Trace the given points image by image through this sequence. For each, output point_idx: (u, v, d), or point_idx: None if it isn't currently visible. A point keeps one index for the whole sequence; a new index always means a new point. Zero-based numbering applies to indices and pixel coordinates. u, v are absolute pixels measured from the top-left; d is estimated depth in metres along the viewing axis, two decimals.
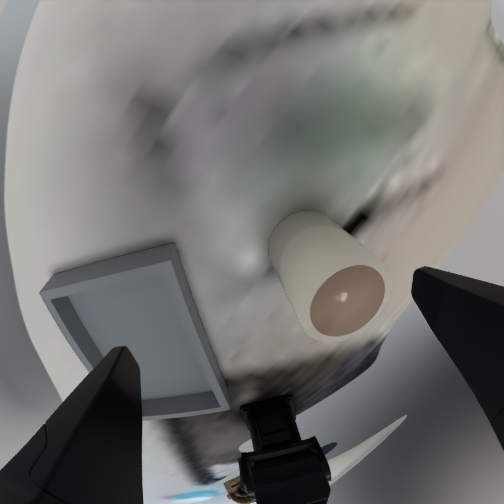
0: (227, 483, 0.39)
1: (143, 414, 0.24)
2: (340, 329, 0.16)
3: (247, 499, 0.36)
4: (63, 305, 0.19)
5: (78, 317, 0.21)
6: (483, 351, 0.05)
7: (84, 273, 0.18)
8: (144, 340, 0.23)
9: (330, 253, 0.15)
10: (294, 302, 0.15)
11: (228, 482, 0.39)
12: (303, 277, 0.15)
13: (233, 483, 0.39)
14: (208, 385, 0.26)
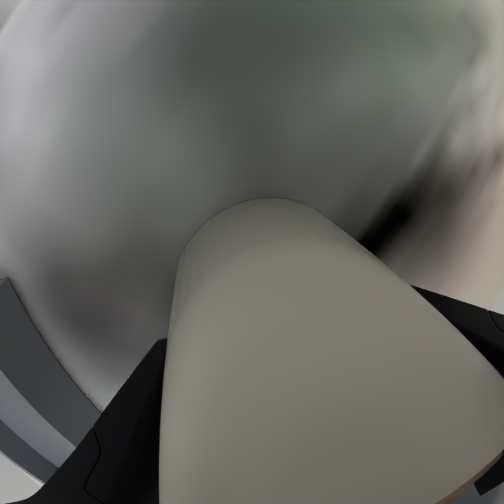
0: None
1: None
2: None
3: None
4: None
5: None
6: None
7: None
8: (29, 414, 0.10)
9: (301, 449, 0.02)
10: None
11: None
12: (166, 503, 0.02)
13: None
14: None
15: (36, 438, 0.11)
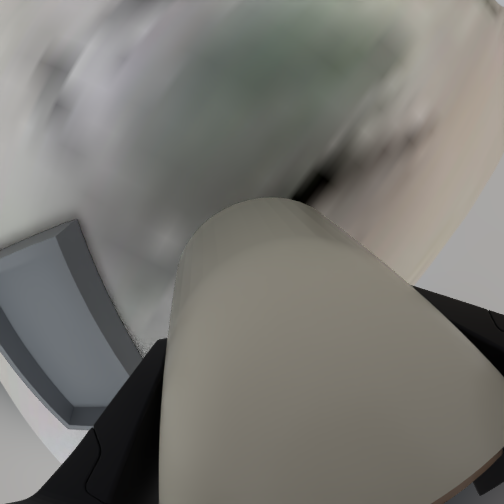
0: None
1: (78, 423, 0.19)
2: None
3: None
4: None
5: (1, 308, 0.15)
6: None
7: None
8: (64, 339, 0.17)
9: (301, 447, 0.02)
10: None
11: None
12: (165, 501, 0.02)
13: None
14: None
15: (62, 369, 0.18)
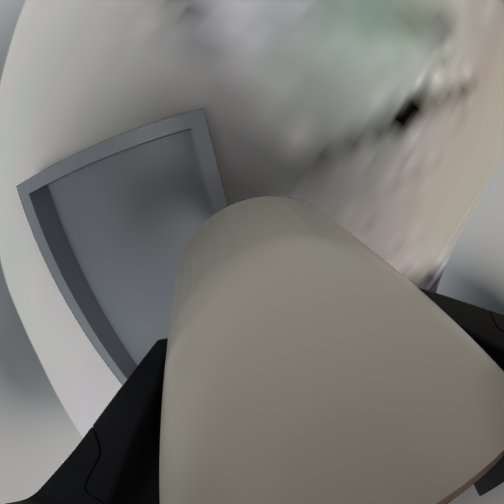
0: None
1: None
2: None
3: None
4: (46, 209, 0.13)
5: (64, 234, 0.15)
6: None
7: None
8: (153, 263, 0.17)
9: (306, 446, 0.02)
10: None
11: None
12: (166, 502, 0.02)
13: None
14: None
15: (137, 311, 0.18)
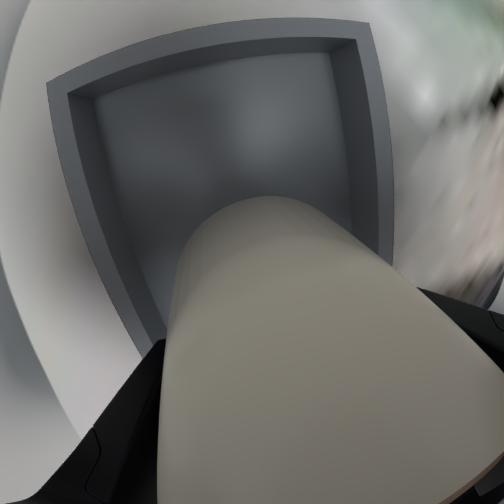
0: None
1: None
2: None
3: None
4: (87, 129, 0.08)
5: (108, 177, 0.10)
6: None
7: None
8: None
9: (301, 448, 0.02)
10: None
11: None
12: (163, 503, 0.02)
13: None
14: None
15: None
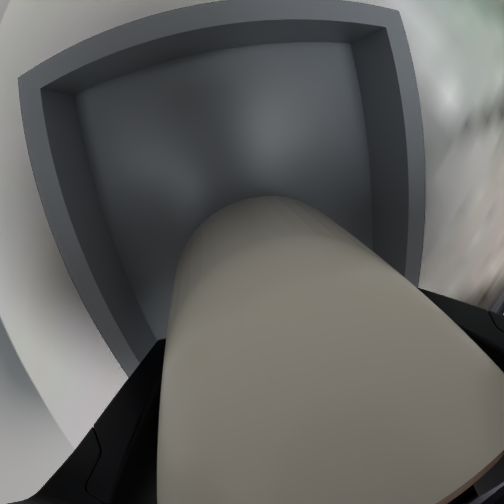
0: None
1: None
2: None
3: None
4: (66, 131, 0.06)
5: (93, 187, 0.08)
6: None
7: None
8: None
9: (301, 447, 0.02)
10: None
11: None
12: (163, 502, 0.02)
13: None
14: None
15: None
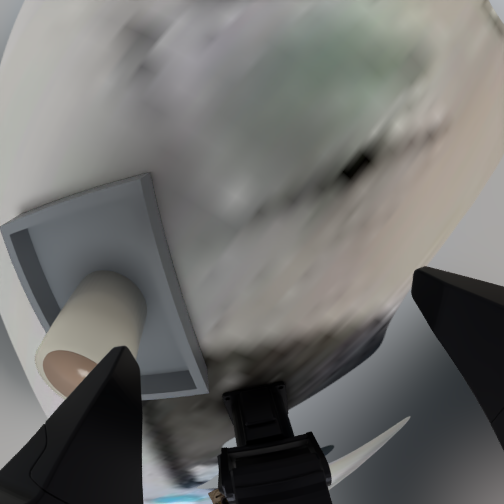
0: (211, 493, 0.36)
1: None
2: None
3: None
4: (24, 246, 0.15)
5: (40, 265, 0.17)
6: (483, 351, 0.05)
7: (48, 205, 0.15)
8: None
9: (51, 332, 0.12)
10: None
11: (212, 492, 0.36)
12: None
13: (217, 493, 0.36)
14: (184, 362, 0.23)
15: None
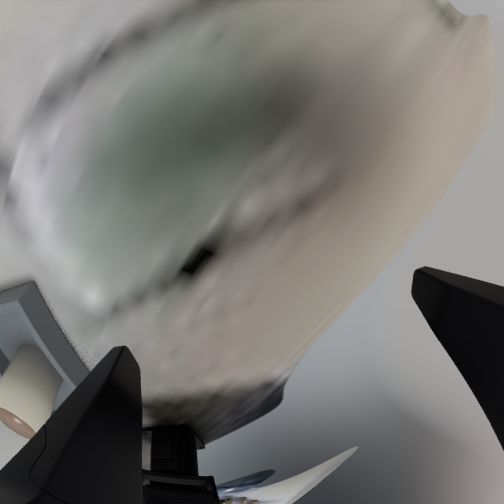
0: None
1: None
2: (23, 435, 0.14)
3: None
4: None
5: None
6: (483, 351, 0.05)
7: None
8: None
9: None
10: None
11: None
12: None
13: None
14: None
15: None
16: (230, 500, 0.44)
